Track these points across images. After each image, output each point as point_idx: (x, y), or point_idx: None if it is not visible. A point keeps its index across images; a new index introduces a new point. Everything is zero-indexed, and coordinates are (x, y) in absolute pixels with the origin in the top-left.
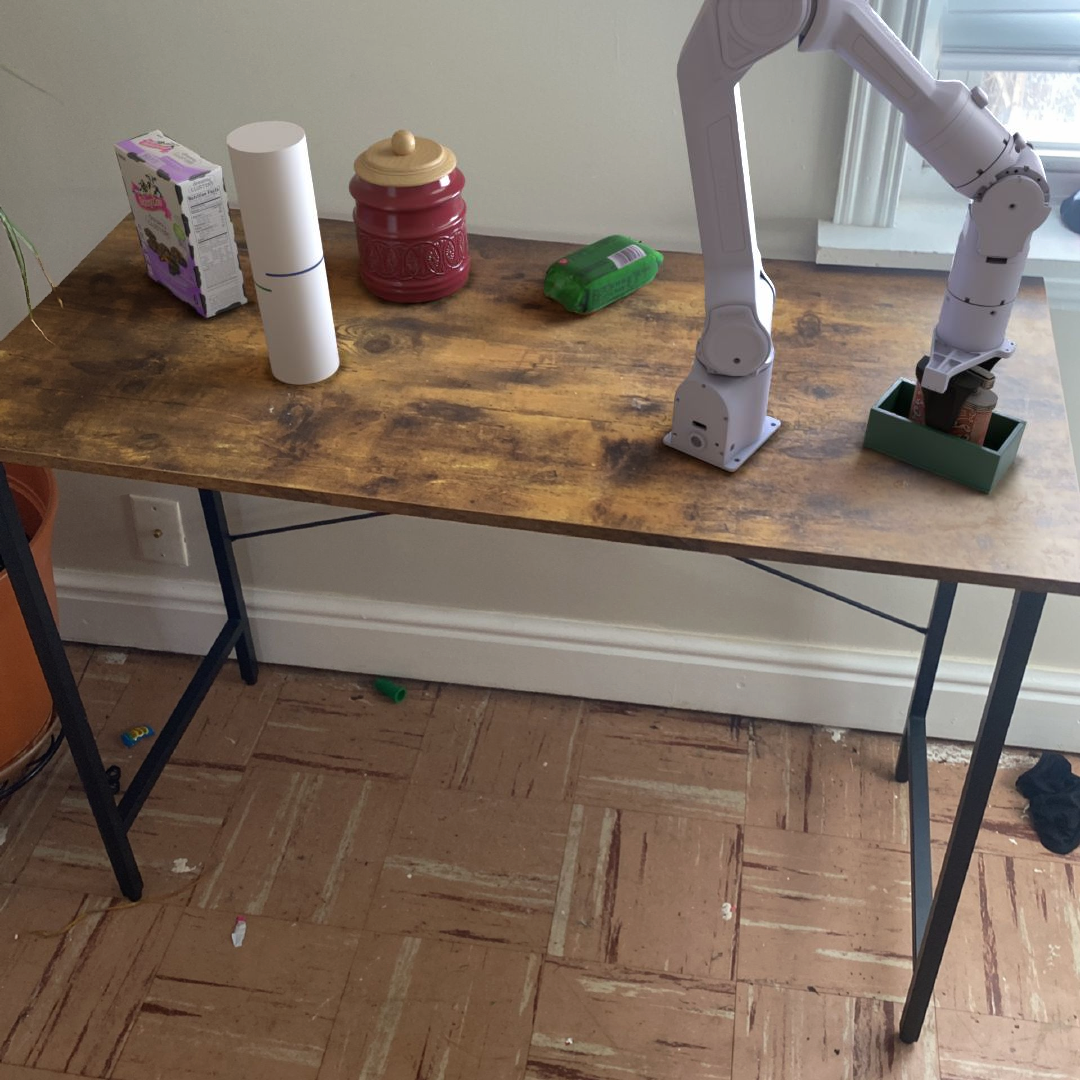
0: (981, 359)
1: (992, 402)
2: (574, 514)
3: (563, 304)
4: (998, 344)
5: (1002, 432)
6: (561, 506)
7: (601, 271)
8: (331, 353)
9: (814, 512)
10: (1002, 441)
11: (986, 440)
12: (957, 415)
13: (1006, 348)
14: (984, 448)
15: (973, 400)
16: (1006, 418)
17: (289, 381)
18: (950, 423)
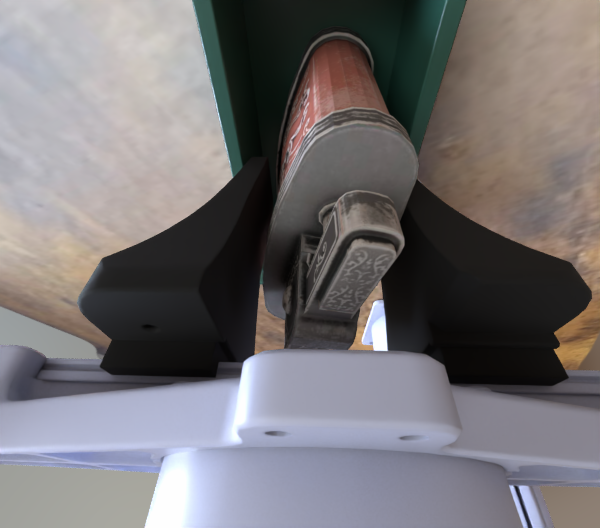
0: (542, 429)
1: (379, 135)
2: (581, 346)
3: None
4: (405, 486)
5: (231, 24)
6: (568, 352)
7: None
8: None
9: (565, 219)
10: (236, 7)
11: (245, 56)
12: (419, 188)
13: (381, 437)
14: (449, 31)
15: (396, 196)
16: (219, 40)
17: None
18: None
